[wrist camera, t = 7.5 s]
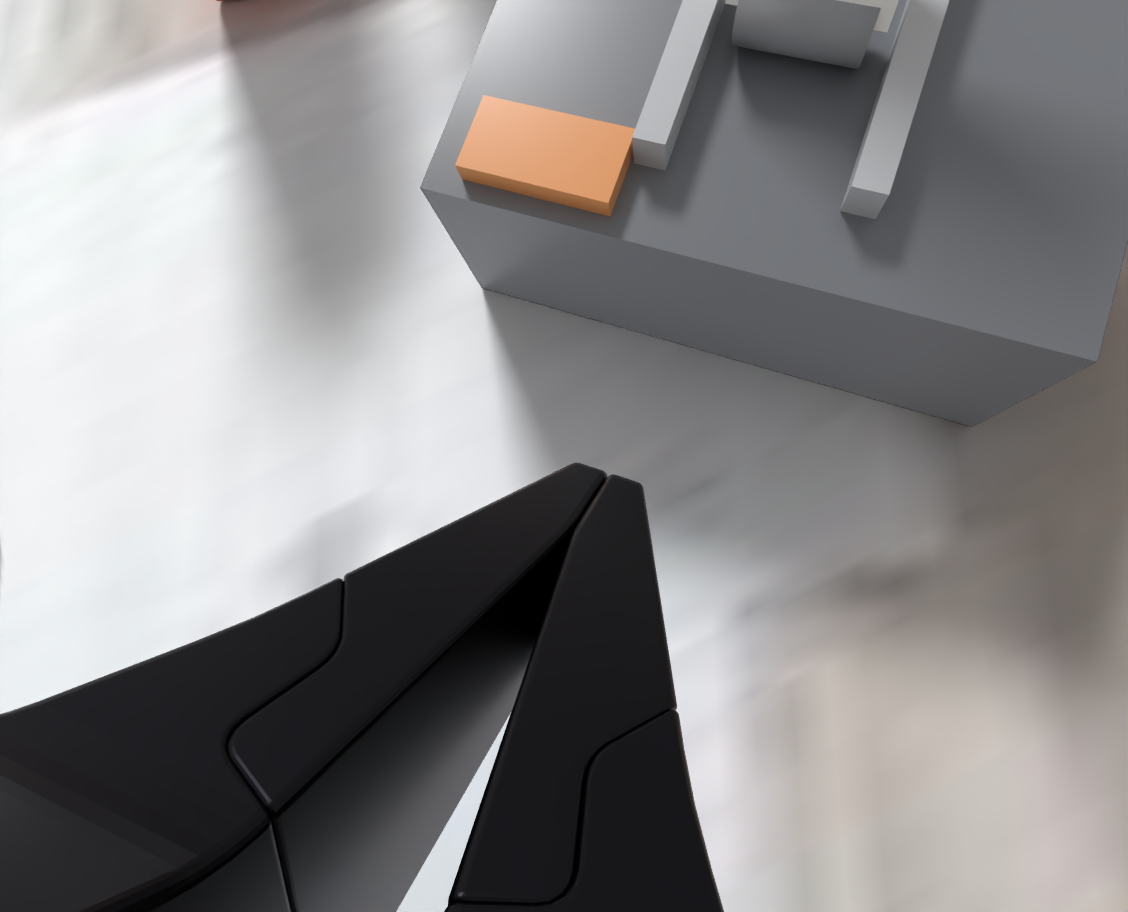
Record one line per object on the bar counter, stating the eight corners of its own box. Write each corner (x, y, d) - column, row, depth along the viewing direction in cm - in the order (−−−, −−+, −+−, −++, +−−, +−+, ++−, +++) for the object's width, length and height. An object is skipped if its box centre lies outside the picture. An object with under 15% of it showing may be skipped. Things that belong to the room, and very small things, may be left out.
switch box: (971, 426, 20) (1128, 344, 13) (481, 287, 23) (405, 164, 16) (1068, 77, 22) (1253, -156, 15) (596, -9, 25) (570, -233, 18)
